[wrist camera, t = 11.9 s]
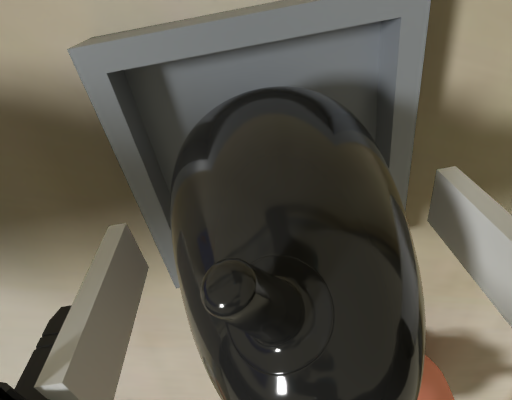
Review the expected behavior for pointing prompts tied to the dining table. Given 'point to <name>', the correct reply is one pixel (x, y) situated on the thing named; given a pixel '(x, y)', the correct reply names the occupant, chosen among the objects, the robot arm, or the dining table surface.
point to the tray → (252, 81)
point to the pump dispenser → (296, 253)
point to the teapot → (433, 383)
